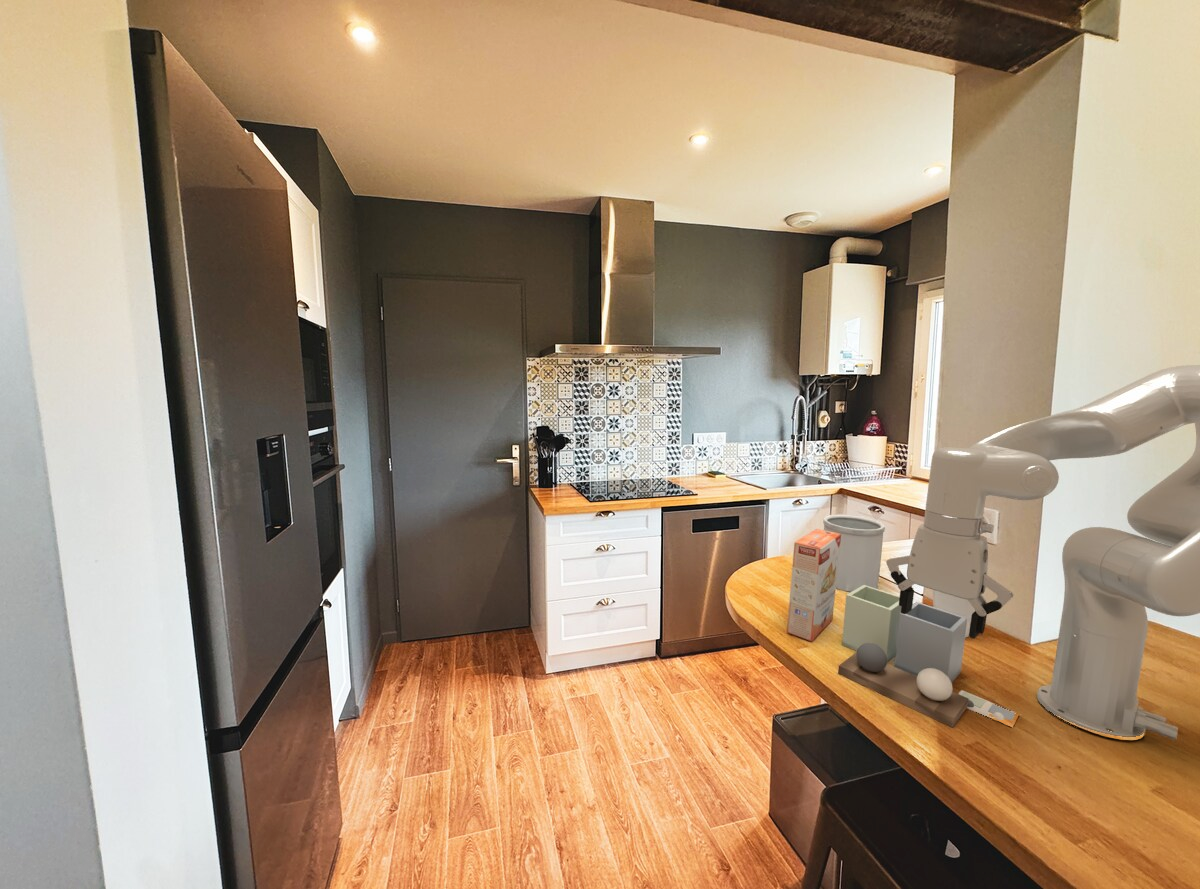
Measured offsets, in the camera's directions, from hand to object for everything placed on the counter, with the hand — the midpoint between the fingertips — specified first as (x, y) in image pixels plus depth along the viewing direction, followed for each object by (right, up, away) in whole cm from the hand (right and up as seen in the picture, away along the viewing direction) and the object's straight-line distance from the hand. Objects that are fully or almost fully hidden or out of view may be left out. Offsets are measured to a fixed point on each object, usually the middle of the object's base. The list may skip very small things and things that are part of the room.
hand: (938, 623), depth 80 cm
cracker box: (-9, -11, +27) cm, 31 cm away
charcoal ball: (-6, -10, +9) cm, 15 cm away
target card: (+9, -15, +1) cm, 17 cm away
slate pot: (+6, -13, +12) cm, 19 cm away
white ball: (0, -11, +1) cm, 11 cm away
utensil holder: (+12, -9, +52) cm, 54 cm away
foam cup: (+22, -12, +27) cm, 37 cm away
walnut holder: (-3, -14, +6) cm, 15 cm away
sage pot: (0, -12, +19) cm, 23 cm away
